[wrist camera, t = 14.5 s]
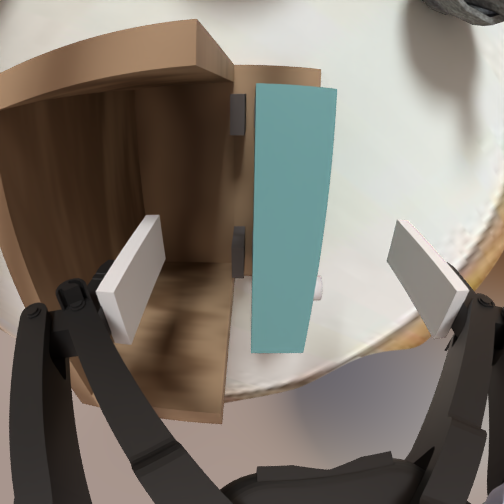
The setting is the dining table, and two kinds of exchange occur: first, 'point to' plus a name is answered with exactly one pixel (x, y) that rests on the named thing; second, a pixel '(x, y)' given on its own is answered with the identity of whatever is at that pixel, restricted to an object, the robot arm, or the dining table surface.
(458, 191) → the dining table surface
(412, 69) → the dining table surface
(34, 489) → the robot arm
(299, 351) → the door
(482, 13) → the mortar and pestle
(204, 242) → the cabinet
